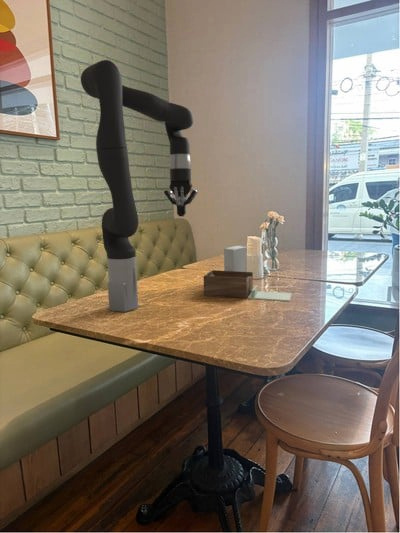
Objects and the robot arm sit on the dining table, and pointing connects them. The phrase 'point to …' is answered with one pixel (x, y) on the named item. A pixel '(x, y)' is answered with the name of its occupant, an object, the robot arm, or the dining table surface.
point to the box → (228, 284)
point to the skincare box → (235, 259)
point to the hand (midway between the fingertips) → (181, 216)
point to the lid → (269, 295)
